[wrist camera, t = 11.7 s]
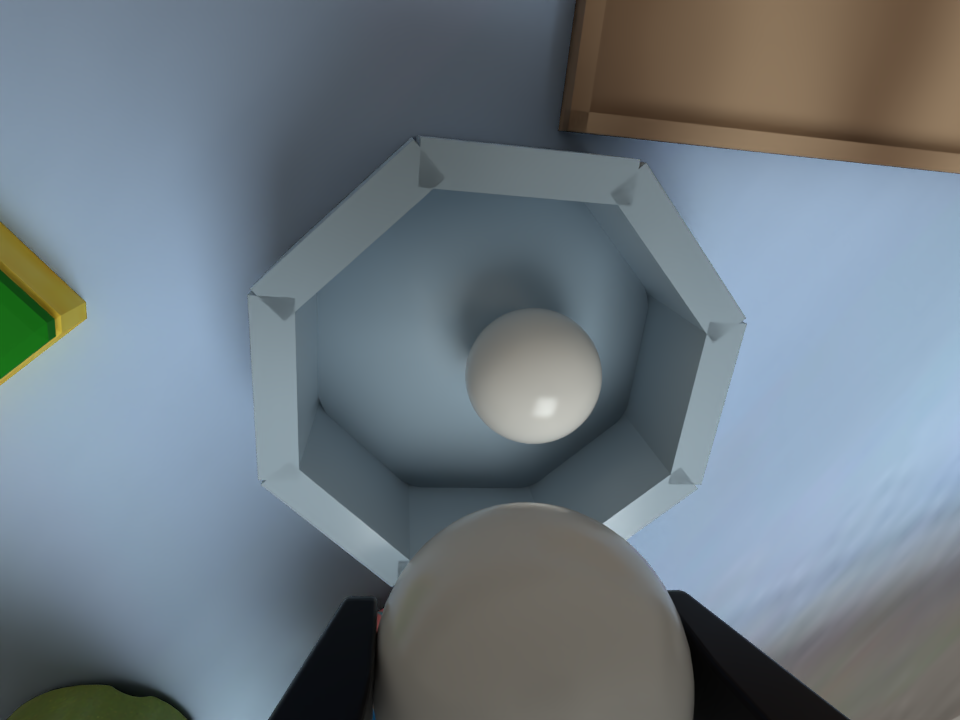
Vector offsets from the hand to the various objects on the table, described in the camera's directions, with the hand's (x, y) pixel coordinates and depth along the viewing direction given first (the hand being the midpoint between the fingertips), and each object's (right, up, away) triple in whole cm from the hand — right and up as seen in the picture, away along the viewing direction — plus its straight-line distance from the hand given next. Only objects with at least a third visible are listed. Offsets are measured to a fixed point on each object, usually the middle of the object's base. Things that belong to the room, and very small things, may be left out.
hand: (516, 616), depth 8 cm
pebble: (0, +1, +1) cm, 1 cm away
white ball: (+1, +4, +10) cm, 11 cm away
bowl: (0, +4, +10) cm, 11 cm away
